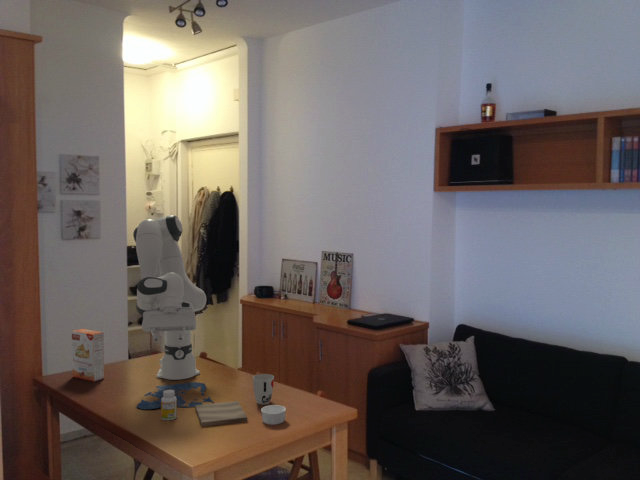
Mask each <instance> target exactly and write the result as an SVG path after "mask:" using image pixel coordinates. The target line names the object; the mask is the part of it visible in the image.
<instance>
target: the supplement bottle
mask: <svg viewBox="0 0 640 480" xmlns="http://www.w3.org/2000/svg"><path fill="white" fill-rule="evenodd" d="M174 395H176V392H175V391H174V390H165V391H163V396H164V397H162V399H161V407H160V410H161V411H160V413H161V414H160V415H161V419H162V420H163V421H171V420H175V419H177V418H178V411H177V408H178V406H177V398H176V397H175V396H174Z"/></svg>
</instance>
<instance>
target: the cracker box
mask: <svg viewBox="0 0 640 480" xmlns="http://www.w3.org/2000/svg"><path fill="white" fill-rule="evenodd" d="M104 345H105V343H104V332H103V331H96V330H93V329H86V328H79V329H74V330H72V331H71V350H72V351H71V354H72V355H71V358H72V359H71V360H72V377H73V378H76V379H80V380H86V381H89V382H98V381H100V380H103V379H105V359H104V358H105V357H104V356H105V355H104V354H105V351H104V350H105V349H104V347H105V346H104Z"/></svg>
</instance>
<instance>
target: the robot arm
mask: <svg viewBox="0 0 640 480" xmlns="http://www.w3.org/2000/svg"><path fill="white" fill-rule="evenodd" d="M182 234H183V224H182V221H181V220H180V218H179V217H178V216H176V215H173V214H170V215H166V216H165V217H164V216H163V217H160V218H156V219H147V218H146V219H144V220H141V222H140V223H139V224H138V226H137V227H135V229H134V231H133V234H132V236H133V240H134V241H135V249H136V255H137V261H138V264H139V265H138V266H139V269H140V277H141V278H140V280H139V281H138V283H137V286H136V287H137V288H136V304H135V305H136V306H135V307H136V311H137V312H138V313H139V314H140V315H141V316H142V323H141V328H142V331H144V332H145V333H147V332H149V333H150V332H151V335H152V340H153V341H155V342H156V341H158V340H159V335H158V334H156V332H164V336H165V337H164V338H165V344H164V348H163V350H164V355H163V356H162V358H161V359H159V365H160V366H159V367H160V368H159V369H158V372H157V374H156V378H158V379H159V378H160V379H165V380H171V381H172V380H173V381H174V380H175V381H176V380H186V379H190V378H192V377H194V376H197V375H200V374H201V372H200V370H198V369H197V363H196V361H197V360H196V359H197V358H196V355H194V354H193V352H192V351H193V343H192V340H191V339H192V331H195V330H196V329H197V318H196V314H195V312H198V311H201V310H203V309H204V308H205V306H206V305H207V295H206V293H205V291H204V290H203V289H201V288H199V287H198V286H196V285H195V283H193V282H192V281H191V280H190V278H189V276H188V275H187V272H186V267H185V264H184V259H183V258H184V257H183V255H182V252H181V248H180V246H179V243H178V242H179V241H180V238H181V237H182ZM158 270H159V276H158Z"/></svg>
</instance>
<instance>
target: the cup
mask: <svg viewBox="0 0 640 480" xmlns="http://www.w3.org/2000/svg"><path fill="white" fill-rule="evenodd" d="M274 379H275V375H273V374H268V373H260V374H256V375H255V374H254V375H253V376H252V383H253V384H252V385H253V386H252V387H253V393H254V398H255V402H256V404H258V405H270V404H271V403H270V402H271V400H272V396H273V392H274V381H275V380H274Z"/></svg>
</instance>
